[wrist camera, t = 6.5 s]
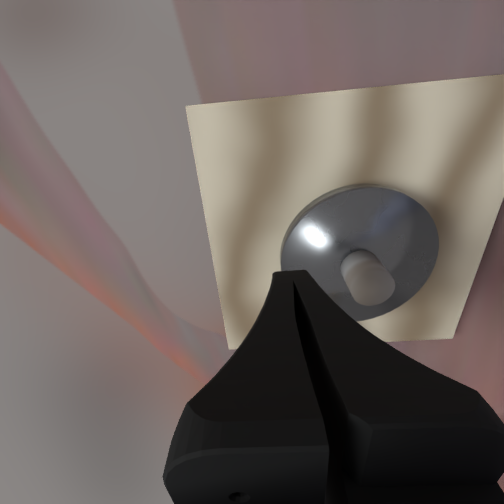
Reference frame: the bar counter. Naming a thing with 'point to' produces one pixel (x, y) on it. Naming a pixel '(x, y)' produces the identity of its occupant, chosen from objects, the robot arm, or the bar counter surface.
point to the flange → (363, 242)
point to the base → (347, 173)
